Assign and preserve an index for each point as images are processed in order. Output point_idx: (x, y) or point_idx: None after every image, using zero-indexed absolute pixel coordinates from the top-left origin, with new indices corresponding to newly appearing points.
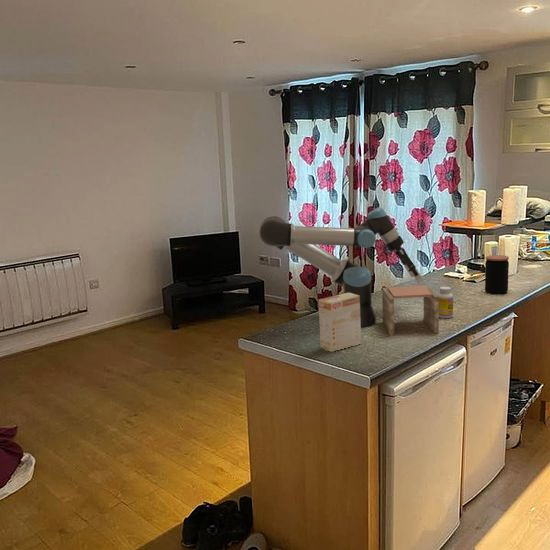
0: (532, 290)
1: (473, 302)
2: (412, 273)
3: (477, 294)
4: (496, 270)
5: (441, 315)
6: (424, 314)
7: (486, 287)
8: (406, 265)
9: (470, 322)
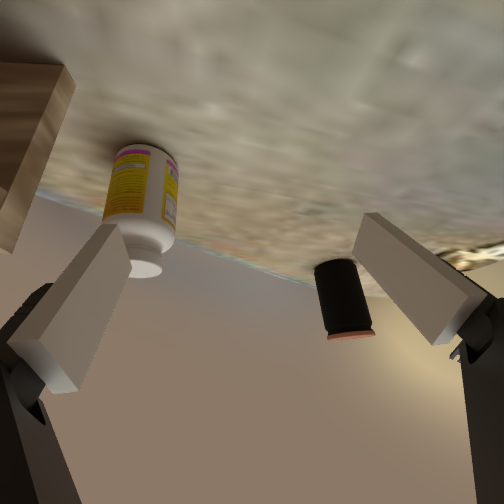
0: (313, 286)
1: (286, 238)
2: (42, 306)
3: (341, 250)
4: (328, 312)
5: (115, 158)
6: (29, 86)
7: (341, 270)
8: (447, 309)
9: (89, 207)
